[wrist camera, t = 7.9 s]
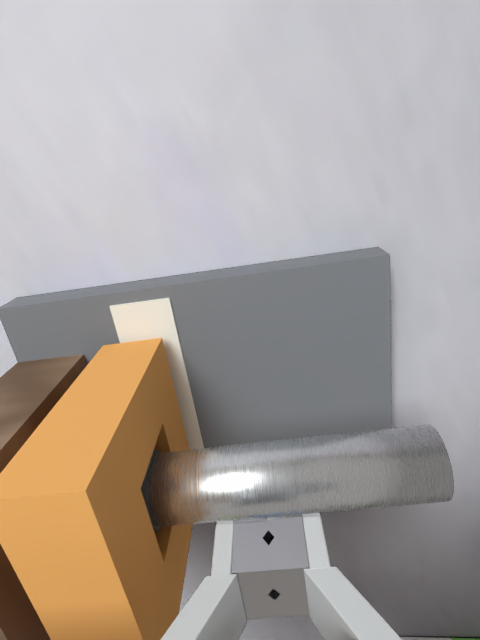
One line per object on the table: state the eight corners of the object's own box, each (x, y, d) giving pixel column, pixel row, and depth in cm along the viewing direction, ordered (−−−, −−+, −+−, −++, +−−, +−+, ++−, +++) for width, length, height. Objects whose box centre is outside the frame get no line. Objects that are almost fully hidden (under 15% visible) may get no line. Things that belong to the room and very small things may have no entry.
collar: (162, 337, 16) (85, 490, 9) (198, 487, 19) (165, 697, 11) (103, 345, 16) (-22, 501, 9) (148, 492, 19) (83, 702, 12)
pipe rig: (378, 246, 16) (545, 358, 7) (382, 470, 21) (488, 719, 11) (16, 297, 18) (-244, 448, 8) (92, 498, 22) (-22, 743, 13)
